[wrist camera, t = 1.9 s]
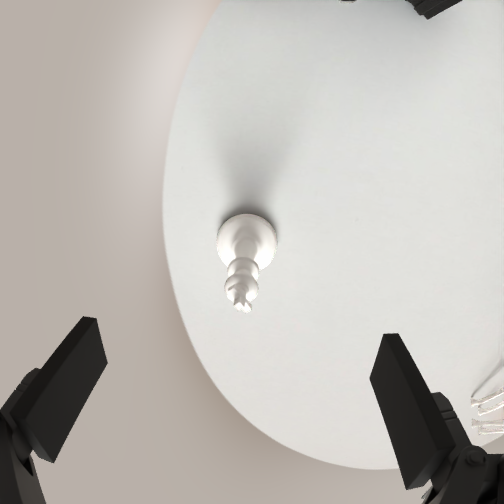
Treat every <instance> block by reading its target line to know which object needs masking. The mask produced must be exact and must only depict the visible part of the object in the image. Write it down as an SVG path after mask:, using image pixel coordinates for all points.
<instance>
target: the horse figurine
mask: <svg viewBox="0 0 504 504" xmlns="http://www.w3.org/2000/svg"><path fill="white" fill-rule="evenodd" d="M503 393H504V387H503V388H501V389H500V390H499V391H497V392H495V393H493V394H492V395H490V396H487V397H485V398H482V399H479V400H475V399H473V398H471V407H473V406H475V405H476V404H482V403H485V402H487V401H489V400H491V399H493V398H495V397H497V396H499V395H501V394H503ZM502 406H504V401H502V402H501V403H499V404H497V405H495V406H492V407H490V408H487V409H482V408H479V407H478V414H479V416H480V415H482V414H483V413H489V412H491V411H494V410H496V409H498V408H500V407H502ZM492 425H504V419H503V420H497V421H485V422H480V421H476V420H474V419H472V428H474V427H475V426H477V427H479V435H481V434H489V433H504V428H500V429H484V428H481V427H482V426H492Z"/></svg>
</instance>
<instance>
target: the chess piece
mask: <svg viewBox="0 0 504 504" xmlns="http://www.w3.org/2000/svg"><path fill="white" fill-rule="evenodd" d="M276 249H277V237H276V233H275V231H274V229H273V227H272V226H271V225H270V224H269V223H268V222H267V221H266V220H265V219H263V218H262V217H259V216H257V215H253V214H240V215H236V216H234V217H232V218H230V219H228V220H227V221H226V222H225V223H224V224H223V225H222V227H221V228H220V230H219V232H218V236H217V250H218V254H219V256H220V258H221V259H222V261H223V262H224V263H225V264H226V265H227V266H228V268H227V274H228V277H229V278H228V279H227V280H226V283H225V293H226V295H227V297H228V298H229V299H230V300H232V301H234V305H233V306H234V307H235V308H236V309H237V311H240V310H241V309H242V310H243V311H244V312H245V313H247V312H249V311H250V310H252V305H251V304H250V303H249V302H250V301H252V300H253V299H254V298H255V297H256V296H257V293H258V283H257V281H256V280H257V279H258V277H259V274H260V270H261V269H263V268H264V267H266V266H267V265H268V264H269V263H270V262H271V261H272V259H273V257H274V255H275V252H276Z"/></svg>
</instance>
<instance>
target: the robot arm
mask: <svg viewBox="0 0 504 504" xmlns="http://www.w3.org/2000/svg"><path fill="white" fill-rule="evenodd" d="M107 363H108V362H107V359H106V355H105V351H104V348H103V344H102V340H101V336H100V332H99V328H98V323H97V319H96V318H90V317H84V316H83V317H82V318H81V319H80V321H79V322H78V323H77V324H76V326H75V327H74V328H73V329H72V330H71V331H70V333H69V334H68V335H67V336H66V338H65V339H64V340H63V341H62V343H61V344H60V345H59V346H58V348H57V349H56V350H55V352H54V353H53V354H52V355H51V357H50V358H49V359H48V361H47V362H46V363H45V364H44V366H43V367H42V368H41V369H38V368H35V369H33V370H32V371H31V372H29V373H28V374H27V375H26V376H25V377H24V378H23V380H22V381H21V384H19V385H18V386H17V388H16V390H14V392H13V393H12V394H11V396H10V397H9V398H8V400H7V401H6V402H5V404H4V405H3V407H2V408H1V409H0V504H46V502H45V499H44V496H43V493H42V490H41V487H40V483H39V480H38V477H37V473H36V470H35V466H34V463H33V459H32V457H31V455H30V453H31V452H32V450H34V451H35V453H36V454H37V456H38V457H39V458H41V459H44V460H46V461H49V462H51V463H54V462H55V460H56V458H57V456H58V454H59V452H60V450H61V448H62V446H63V444H64V442H65V440H66V438H67V436H68V434H69V432H70V431H71V429H72V427H73V425H74V423H75V421H76V419H77V417H78V415H79V413H80V412H81V410H82V408H83V406H84V404H85V403H86V401H87V399H88V397H89V395H90V393H91V391H92V390H93V388H94V386H95V385H96V383H97V381H98V379H99V378H100V376H101V374H102V372H103V371H104V369H105V367H106V365H107ZM369 379H370V381H371V384H372V387H373V390H374V393H375V395H376V398H377V401H378V404H379V407H380V410H381V413H382V416H383V418H384V421H385V424H386V427H387V430H388V433H389V436H390V439H391V443H392V446H393V449H394V452H395V455H396V458H397V461H398V465H399V468H400V471H401V475H402V478H403V481H404V485H405V488H406V490H408V489H413V488H418V487H421V486H424V485H425V484H426V483H427V481H428V480H429V479H431V482H432V485H433V486H431V487H430V489H429V490H428V491H427V492H426V493H425V494H424V495H423V496H422V499H424V498H425V499H424V501H423V503H422V504H504V454H487V453H486V452H485V450H483V449H482V448H481V447H479V446H474V445H472V444H471V442H470V440H469V438H468V436H467V434H466V432H465V430H464V428H463V426H462V424H461V422H460V420H459V418H457V415H456V413H455V411H453V407H452V405H451V403H450V402H449V400H448V399H447V398H446V397H445V396H444V395H443V394H442V393H441V392H437V393H431V392H430V390H429V388H428V386H427V385H426V383H425V381H424V379H423V377H422V375H421V373H420V371H419V370H418V368H417V366H416V364H415V362H414V360H413V359H412V357H411V355H410V353H409V351H408V350H407V348H406V346H405V344H404V343H403V341H402V339H401V337H400V336H399V334H398V333H393V334H383V337H382V340H381V344H380V347H379V350H378V354H377V357H376V360H375V363H374V366H373V369H372V372H371V375H370V378H369Z"/></svg>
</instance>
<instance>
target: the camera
mask: <svg viewBox="0 0 504 504" xmlns="http://www.w3.org/2000/svg"><path fill="white" fill-rule="evenodd" d="M339 1H340V2H341V3H353V2H355V1H357V0H339ZM405 1H409V2H410V3H412V5H413V6H414V7H415V8H414V9H415V10H416V11H417V13H418V14H419V15H424V16H425V17H426V19H427V20H428V19H430V18H431V17H433V16H435V15H437V14H438V13H440V12H442V11H444V10H446V9H447V8H449V7H451V6H453V5H455V4H457V3H458V2H460V1H462V0H405Z"/></svg>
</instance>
